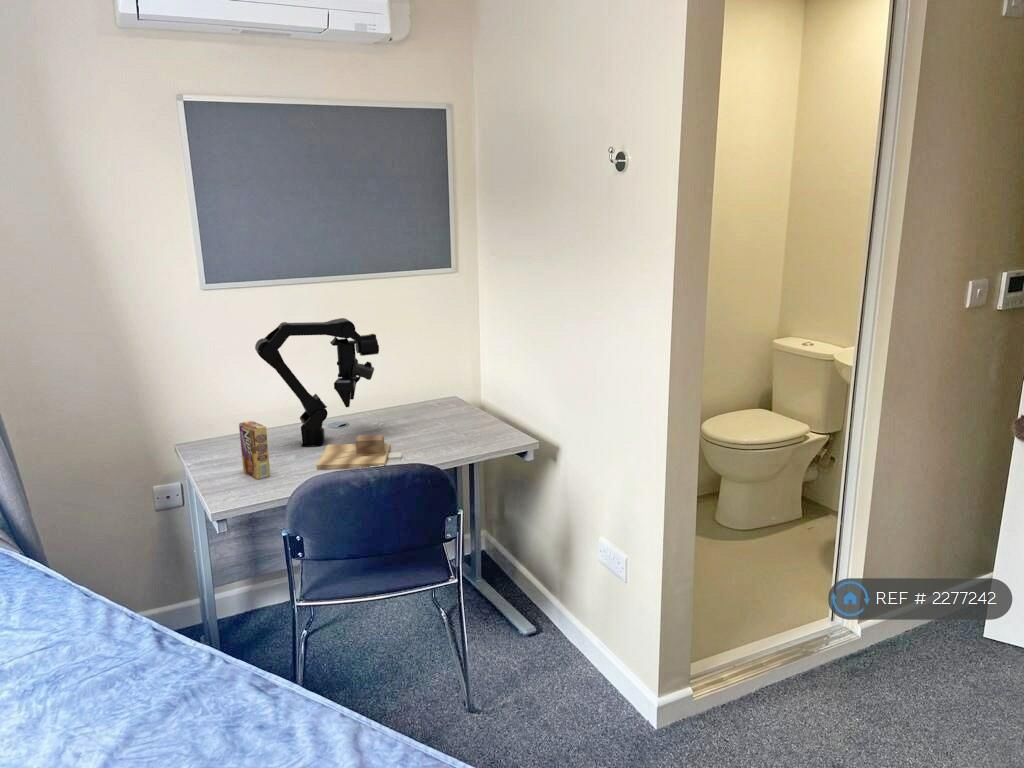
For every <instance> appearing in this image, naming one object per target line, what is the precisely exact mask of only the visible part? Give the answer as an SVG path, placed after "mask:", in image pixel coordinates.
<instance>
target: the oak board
mask: <svg viewBox="0 0 1024 768" xmlns="http://www.w3.org/2000/svg"><path fill="white" fill-rule="evenodd" d="M384 445H385V451H384V454H383V456H357V453H356V443H349V444H347V443H345V444H344V443H343V444H342V443H341V444H340V443H338V444H327V446H326V447H325V449H324V451H323V453H322V454H321V455H320V458H319V460H318V462H317V464H316V470H319V471H320V470H321V471H322V470H324V471H325V470H350V469H349V468H360V467H370V466H379V465H385V466H386V464H387V461H388V455H389V453H390V451H391V443H390V442H387V443H386V442H384Z"/></svg>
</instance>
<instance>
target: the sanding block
mask: <svg viewBox="0 0 1024 768" xmlns="http://www.w3.org/2000/svg"><path fill="white" fill-rule="evenodd" d="M384 443H385V434H371V435H368V434H367V435H361V434H360V435H357V436H356V440H355V444H356V453H357V456H383V454H384V451H385V445H384Z"/></svg>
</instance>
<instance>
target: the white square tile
mask: <svg viewBox="0 0 1024 768" xmlns="http://www.w3.org/2000/svg"><path fill="white" fill-rule="evenodd" d="M402 455H403V454H402V451H401V452H389V455H388V458H387V461H388V460H389V461H390V460H391V461H393V460H402Z"/></svg>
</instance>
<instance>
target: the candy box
mask: <svg viewBox="0 0 1024 768" xmlns="http://www.w3.org/2000/svg"><path fill="white" fill-rule="evenodd" d="M238 428H239V429H238V430H239V439H240V449H241V450H240V451H241V460H242V468H243V469H242V470H243V473H245V474H246V475H248V476H251V477H253V478H255V479H257V480H260V479H263V478H267V477H270V476H271V471H270V457H269V444H268V434H267V433H268V432H267V426H266V425H263V424H260V423H257V422H256V421H253V420H247V421H246V420H245V421H243V422H240V423H238Z"/></svg>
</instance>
